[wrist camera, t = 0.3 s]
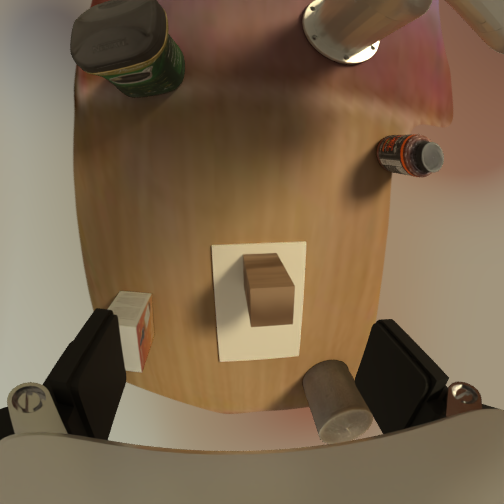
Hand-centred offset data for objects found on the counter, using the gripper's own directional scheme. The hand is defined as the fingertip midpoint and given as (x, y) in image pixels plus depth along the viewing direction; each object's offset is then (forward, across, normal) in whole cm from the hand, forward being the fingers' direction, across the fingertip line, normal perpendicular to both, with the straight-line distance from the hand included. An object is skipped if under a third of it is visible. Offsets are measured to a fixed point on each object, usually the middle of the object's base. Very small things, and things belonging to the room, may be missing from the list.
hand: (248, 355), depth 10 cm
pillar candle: (+35, -21, +31) cm, 51 cm away
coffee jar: (+34, +12, -19) cm, 41 cm away
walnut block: (+34, -6, +9) cm, 36 cm away
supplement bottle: (+34, -25, -11) cm, 44 cm away
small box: (+35, +13, +18) cm, 41 cm away
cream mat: (+34, -7, +15) cm, 38 cm away
